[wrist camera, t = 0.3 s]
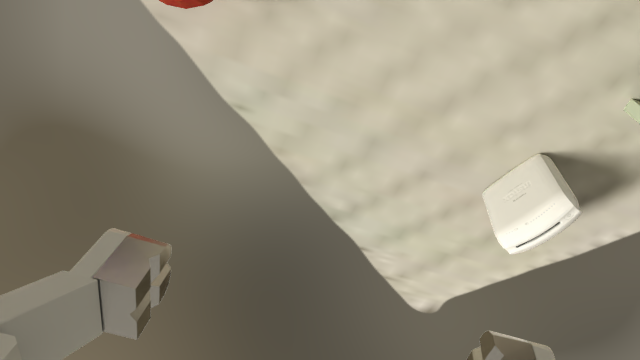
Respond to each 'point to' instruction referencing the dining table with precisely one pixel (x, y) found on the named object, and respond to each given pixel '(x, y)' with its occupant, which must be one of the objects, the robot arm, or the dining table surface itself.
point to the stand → (633, 109)
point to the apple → (186, 3)
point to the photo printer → (530, 205)
